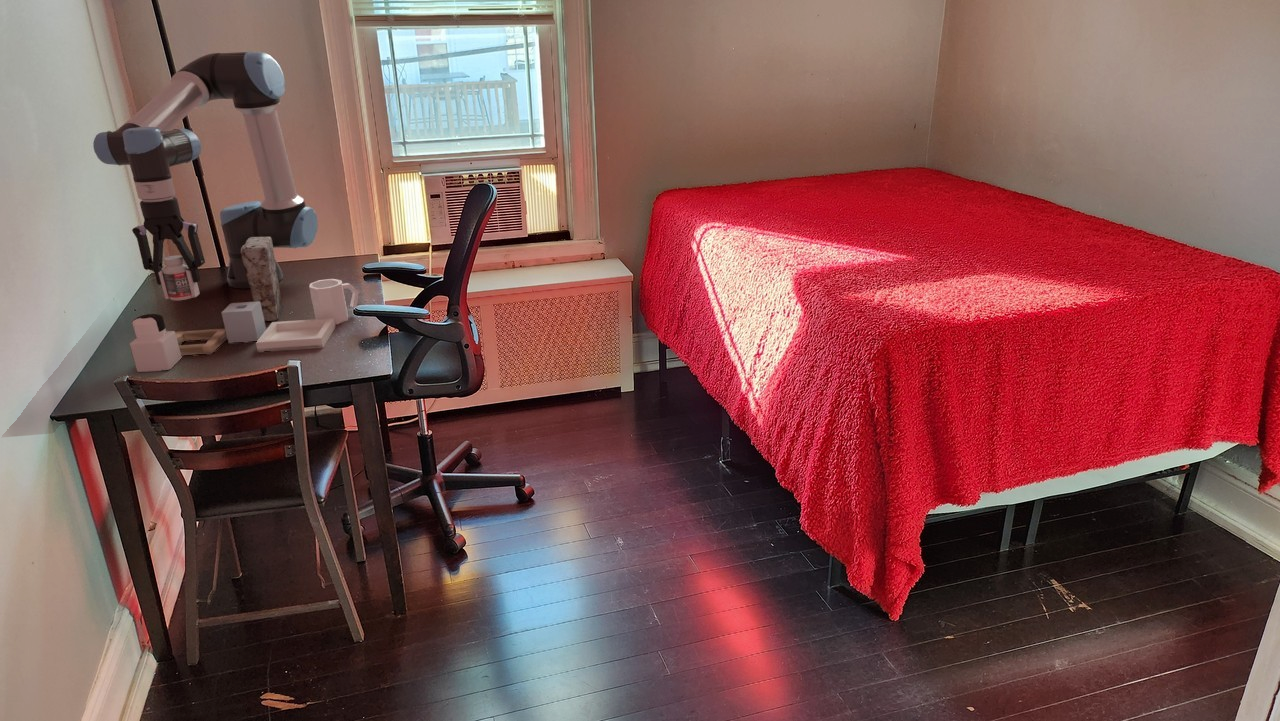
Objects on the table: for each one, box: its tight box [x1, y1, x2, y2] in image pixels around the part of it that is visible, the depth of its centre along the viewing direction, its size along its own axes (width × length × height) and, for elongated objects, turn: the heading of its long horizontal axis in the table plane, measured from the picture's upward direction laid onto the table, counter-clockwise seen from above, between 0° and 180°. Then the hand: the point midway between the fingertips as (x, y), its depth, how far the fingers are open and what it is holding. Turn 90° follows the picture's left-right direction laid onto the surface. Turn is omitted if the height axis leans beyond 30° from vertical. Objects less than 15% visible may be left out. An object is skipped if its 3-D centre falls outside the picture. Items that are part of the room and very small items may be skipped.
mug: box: [308, 278, 360, 326], centre depth 217 cm, size 12×9×10 cm
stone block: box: [241, 237, 283, 322], centre depth 219 cm, size 13×7×20 cm, turn 21°
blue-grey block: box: [221, 301, 267, 344], centre depth 206 cm, size 7×7×8 cm
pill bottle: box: [162, 254, 193, 301], centre depth 196 cm, size 5×5×10 cm
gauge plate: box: [175, 328, 228, 355], centre depth 202 cm, size 12×12×2 cm
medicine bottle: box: [129, 313, 183, 373], centre depth 190 cm, size 7×7×12 cm
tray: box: [255, 318, 336, 353], centre depth 205 cm, size 14×15×2 cm
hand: (182, 296), depth 198 cm, fingers closed on pill bottle, 5 cm apart
